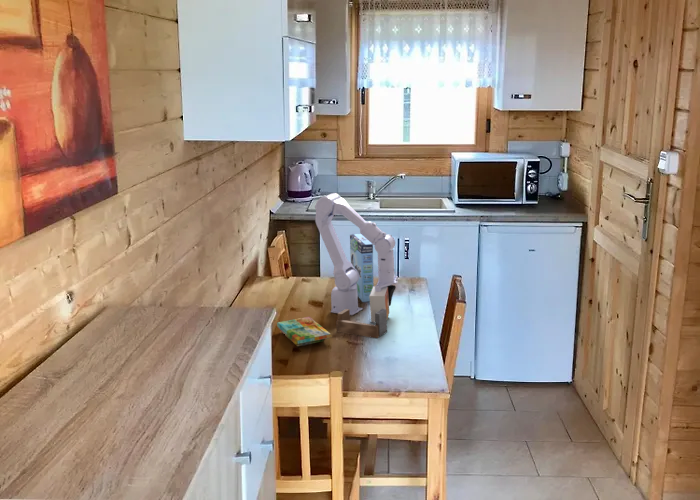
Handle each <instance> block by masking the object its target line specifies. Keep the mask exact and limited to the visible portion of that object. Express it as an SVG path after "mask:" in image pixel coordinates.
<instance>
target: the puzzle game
mask: <svg viewBox="0 0 700 500" xmlns="http://www.w3.org/2000/svg"><path fill="white" fill-rule="evenodd" d="M276 324H277V325H276V327H277V328H278V329H279V330H280V331H281V333H282V334H283V335H284V334H285V335H284V336H285V337H287V339H289V340H290V341H291V342H292V343H293V344H294V345H295V346H296V347H301V346H307V345H311V344H315V343H321V342H324V341H325V340H326V339H330V338H332V334H331V333H330V331H328V330H327V329H325V328H324V327H323V326H322V325H320V323H318V322H316V320H314V319H313V318H312V317H311V316H306V317H300V318H295V319H294V318H293V319H290V320H282V321H278V322H276Z"/></svg>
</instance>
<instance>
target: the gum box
mask: <svg viewBox="0 0 700 500" xmlns="http://www.w3.org/2000/svg"><path fill="white" fill-rule="evenodd" d="M349 245H350V246H349V249H350V250H349V254H350V263H352V265H353V267H354V268H355V269H356V270H357V271H358V273H359V280H358V282H357V294H358V299H359V300H360V301H361V303H370V298H369V296H370V294H371V291H372V288H373V286H374V285H375V284H374V281H375V280H374V245H373V244H372V243H371V242H370V241H369V240H367V239H366V238H365V237H364V236H363V235H362V234H361V233H355V234H354V233H352V234H349Z"/></svg>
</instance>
